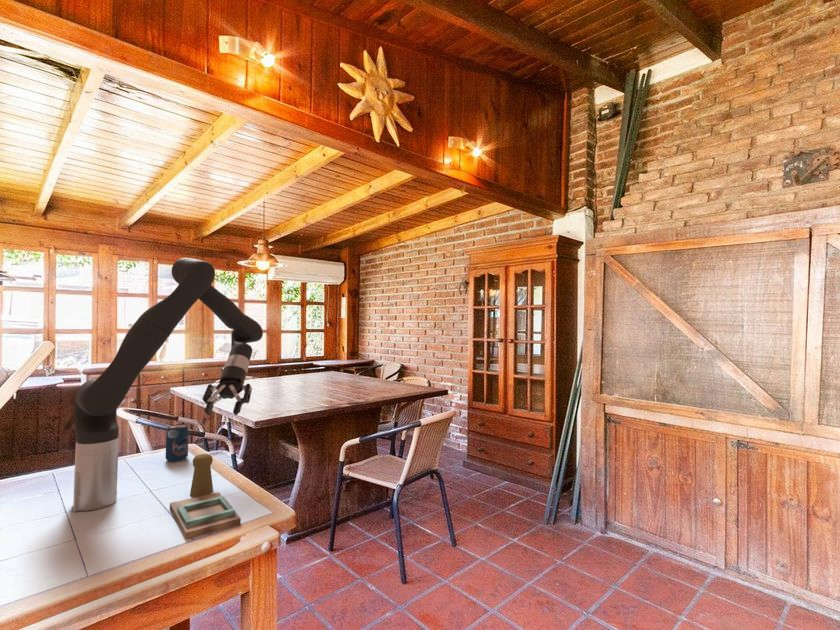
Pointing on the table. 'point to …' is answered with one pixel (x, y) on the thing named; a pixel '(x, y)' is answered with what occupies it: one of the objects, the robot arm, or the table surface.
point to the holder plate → (204, 514)
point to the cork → (202, 476)
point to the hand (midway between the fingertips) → (221, 414)
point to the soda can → (177, 443)
